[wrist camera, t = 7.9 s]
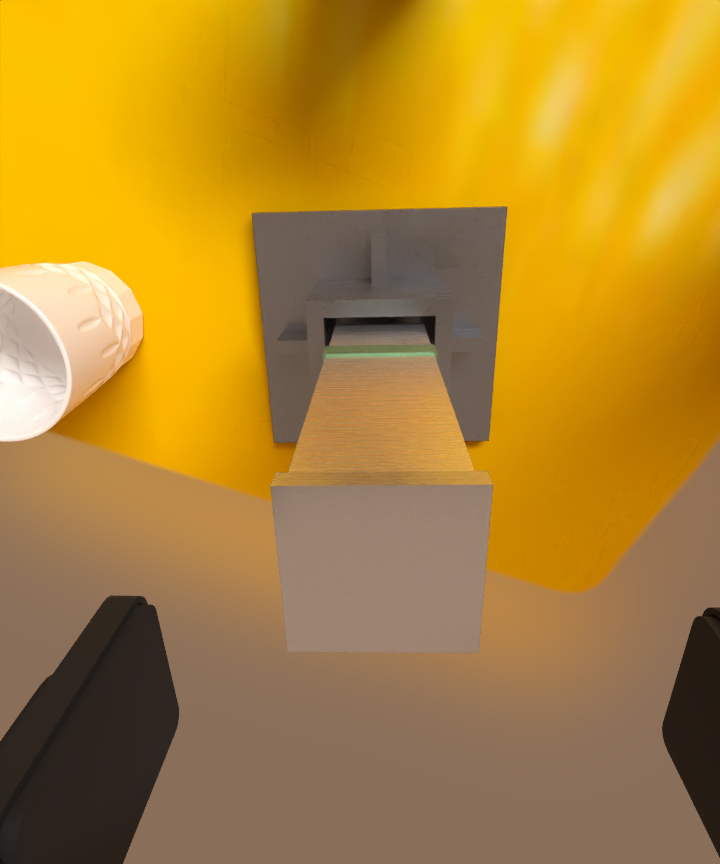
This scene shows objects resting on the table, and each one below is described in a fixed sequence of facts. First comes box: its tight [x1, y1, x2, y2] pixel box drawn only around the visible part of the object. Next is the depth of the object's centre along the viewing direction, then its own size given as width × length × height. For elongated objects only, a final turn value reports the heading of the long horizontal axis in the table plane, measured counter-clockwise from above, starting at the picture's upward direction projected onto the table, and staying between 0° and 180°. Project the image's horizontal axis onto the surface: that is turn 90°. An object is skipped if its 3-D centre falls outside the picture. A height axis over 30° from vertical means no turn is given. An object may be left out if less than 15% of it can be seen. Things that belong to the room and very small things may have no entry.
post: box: [271, 323, 493, 653], centre depth 19 cm, size 5×5×16 cm
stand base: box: [252, 206, 507, 443], centre depth 30 cm, size 14×14×8 cm
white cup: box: [0, 261, 143, 442], centre depth 29 cm, size 8×8×10 cm
